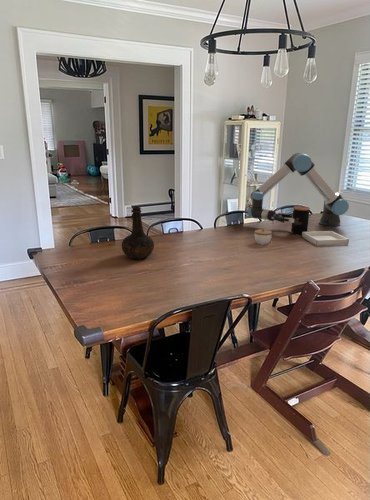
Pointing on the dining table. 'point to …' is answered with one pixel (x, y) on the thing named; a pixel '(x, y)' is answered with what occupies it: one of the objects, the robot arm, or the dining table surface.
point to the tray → (325, 238)
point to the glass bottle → (137, 239)
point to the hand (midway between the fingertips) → (297, 219)
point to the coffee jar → (300, 220)
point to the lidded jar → (263, 236)
